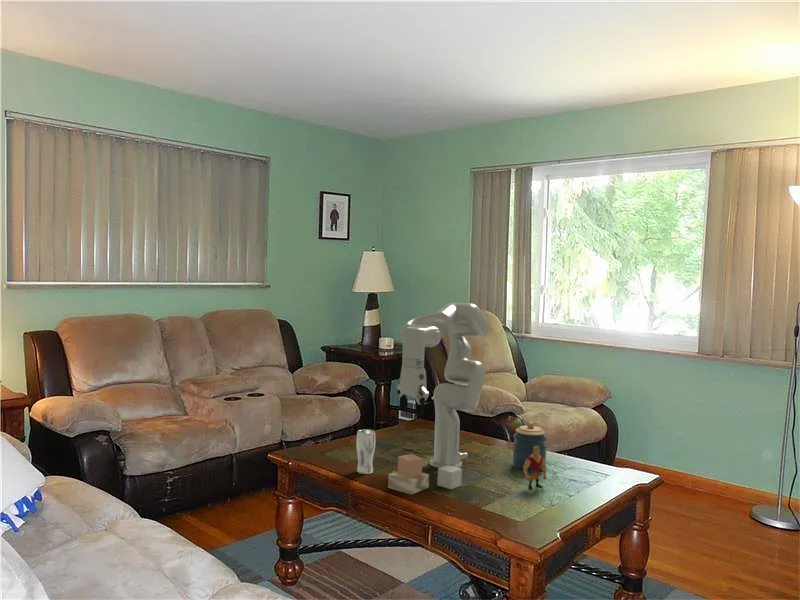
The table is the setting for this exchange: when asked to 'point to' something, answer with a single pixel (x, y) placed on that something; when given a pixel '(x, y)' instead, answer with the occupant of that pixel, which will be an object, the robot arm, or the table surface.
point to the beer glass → (365, 450)
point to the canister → (528, 444)
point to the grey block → (449, 477)
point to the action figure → (534, 466)
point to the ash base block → (408, 483)
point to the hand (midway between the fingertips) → (411, 412)
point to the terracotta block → (410, 466)
